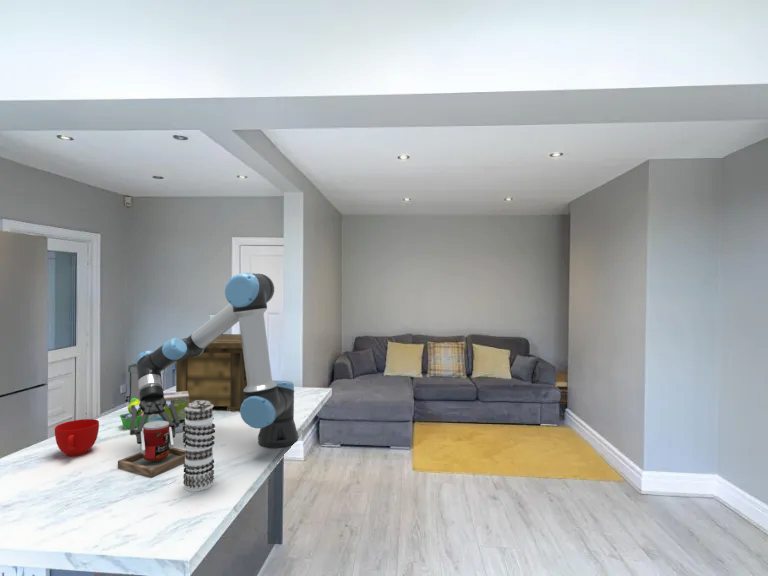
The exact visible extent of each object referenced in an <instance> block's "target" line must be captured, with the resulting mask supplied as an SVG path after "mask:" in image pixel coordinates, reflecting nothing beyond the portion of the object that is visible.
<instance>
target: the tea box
mask: <svg viewBox="0 0 768 576" xmlns="http://www.w3.org/2000/svg"><path fill="white" fill-rule="evenodd" d="M163 394H164V399H165V400H166V401H171V400H174V407H175V409H176V412H177V415H178V418H179V421H180V424H179V427H176V428H175V433H181V432H183V430H182V429H183V425H182V424H183V423H182V422H184V421H185V418H186V410H185V408H186V407H187V406H188V404H189V394H188V391H182V392H176V391H172V392H170V391H169V392H163ZM164 409H165V412H166V413H167V414H168V416H169V417H170V419H171V420H172V422H173V423H174V421H173V418H172V415H171V413H170V408H168V406H167V405H165V406H164ZM152 421H164V420H163V419H162V417H161V416H160V415H159V414H152V415H148V423H149V422H152ZM185 430H186V428H185ZM183 433H184V432H183Z"/></svg>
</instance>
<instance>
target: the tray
mask: <svg viewBox="0 0 768 576" xmlns="http://www.w3.org/2000/svg"><path fill="white" fill-rule="evenodd" d="M185 456H186V450H185V449H180V448H178V447H177V448H176V447H173V448H171V449H170V446H169V454H168V456H167V457H166V458H164V459H161V460H156V461H148V460H145V459H144V457H143V454H142V451H141V452H139V453H136V454H132V455H130V456H127V457H125V458H122V459H119V460H118V461H117V469H118V470H119V469H120V470H123V471H126V472H130V473H132V474H133V473H134V474H136V475H141V476H144V477H148V478H150V479H151V478H154V477H156V476H158V475H161V474H163V473H165V472H167V471H170V470H172V469H174V468H177V467H178V466H181V465H184V463H185Z"/></svg>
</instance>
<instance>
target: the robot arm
mask: <svg viewBox="0 0 768 576" xmlns="http://www.w3.org/2000/svg"><path fill="white" fill-rule="evenodd" d="M274 295H275V285H274V283H273V280H272V279H271V278H270V277H269V276H267V275H265V274H262V273H251V272H243V273H236V274H235V275H233V276H232V277H230V278H229V280H228V281H227V283H226V284H225V288H224V296H225V299H226V301H227V302H228V304H227V305H226V306H224V308H222V309H221V310H220V311H219V312H217V313H216V314H215V315H214V316H212V317H211V318H210V319H209V320H207V321H206V322H204V324H202V325H201V326H199V328H198V329H196V330H195V331H194V332H192V333H191V334H190V335H189V336H187V337H185V338H186V339H185V340H181V339H182V338H178V337H173V338H171V339H169V340H167V341H165V342H164V343H163V344H162V345H160V347H158V348H157V349H155V350H145V351H142V352H140V353H139V354H138V355H137V357H136V361H135V362H136V364H135V366H136V374H137V380H138V381H137V384H138V392H139V393H138V395H139V401H140V404H139V405H136V406H135V405H132V406H131V410H130V411H131V414H132V419H131V427H130V429H129V435H130V436H135V437H136V443H137V445H140V448H141V449H140V450H141V452H142V454H144V453H145V442H144V433H143V426H144V423H145V421H146V418H147V416H148V415H152V414H159V415H160V416H161V417H162V419H163V420H164V421H167V422H169V447H170V449H171V448H174V445H175V444H174V443H175V442H174V438H175V437H176V433H177V432H175V428H176V427H179V424H180V421H179V418H178V415H177V412H176V409H175V407H174V400H171V401H166V400H165V399H164V394H163V393H164V388H163V381H162V373H161V372H162V371H164V370H166V369H167V368H168V367H169V366H171V365H172V364H174V363H176V362H178V361H181V360H185V359H188V358H193V357H196V356H198V355H200V354H202V353H203V351H204V349H205V348H206V347H207V346H208V345H209V344H211V343H212V342H213V341H214V340H216V339H217V338H218V337H219V336H221V335H222V334H226V332H227V331H228V330H230V329H231V328H232V327H234V326H235V325H236V324H237V323H238V322H239V331H240V334H241V340H242V347H243V355H244V363H245V371H246V379H247V386H246V387H245V389H244V399H245V400H244V401H243V403H242V405H241V407H240V408H239V409H240V411H239V412H240V418H242V419H241V420H242V421H243V422H244V424H246V425H248V426H249V427H251V428H253V429H259V433H258V435H257V444H258V445H260V446H262V447H265V448H271V449H272V448H275V449H276V448H278V449H279V448H284V447H288V446H292V445H294V444H296V443H297V442H298V441H299V433H298V430H297V426H296V423H295V417H294V416H295V415H294V414H295V413H294V412H295V385H294V383H293V382H292V381H290V380H273V376H272V370H271V362H270V353H269V346H268V338H267V330H266V323H265V322H266V321H265V312H266V311H267V310H268V305H267V304H268V303H269V302H270V301H271V300H272V298H273V297H274ZM165 405H167V406H168V408H170V413H171V415H172V418H173V421H174V423H173V422H172V420H171V419H170V417H169V416H168V414H167V413H166V412H165V409H164V406H165ZM138 409H141V411H143V412H144V414H143V416H142V419H141V421H140V424H139V426H138V428H135V420H136V412H138Z"/></svg>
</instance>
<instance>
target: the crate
mask: <svg viewBox="0 0 768 576" xmlns="http://www.w3.org/2000/svg"><path fill="white" fill-rule="evenodd" d="M186 338H187V337H185V338H180V339H181V340H185V339H186ZM175 370H176V371H175V379H176V380H175V392H182V391H188V394H189V403H191V402H193V401H197V400H207V401H209V402H210V403H211V404H212V405H214V407H226V411H233V410H234V411H235V410H236V412H237V411H238V410H239V409H240V408H241V405H242V403H243V401H244V400H245V399H244V389H245V387H246V386H247V379H246V371H245V363H244V355H243V347H242V340H241V333H240V334H239V333H237V334H235V333H232V334H230V333H229V334H228V333H227V334H226V333H223V334H222V335H221V336H219V337H218V338H217V339H216V340H214V341H213V342H212V343H211V344H209V345H208V346H207V347H206V348H205V349H204V351H203V353H202V354H200V355H198V356H196V357H193V358H188V359H185V360H181V361H178V362H175Z"/></svg>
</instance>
